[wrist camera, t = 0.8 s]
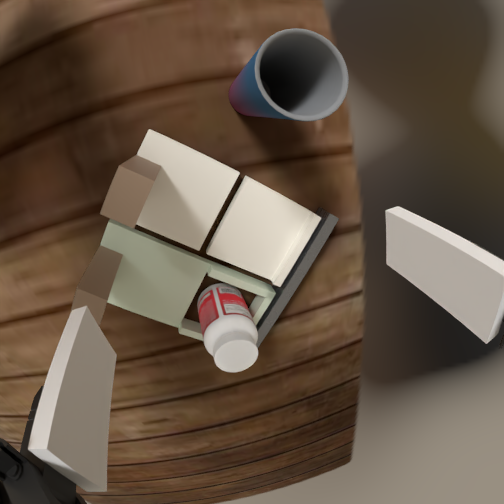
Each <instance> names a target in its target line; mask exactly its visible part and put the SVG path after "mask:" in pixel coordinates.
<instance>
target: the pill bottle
mask: <svg viewBox="0 0 504 504" xmlns="http://www.w3.org/2000/svg"><path fill="white" fill-rule="evenodd" d="M197 307H198V314H199V320H200V325H201V330H202V336H203V341H204V345H205V347H206V349H207V351H208V352H209V353H210V354H211V355H212V356H213V357H214V361H215V363H216V365H217V366H218V368H220V369H221V370H223V371H226V372H239V371H243V370H245V369H247V368H249V367H250V366H251V365H253V364H254V362H255V361H256V359H257V357H258V349H257V346H256V343H257V340H258V331H257V328H256V325H255V323H254V321H253V319H252V316H251V314H250V312H249V310H248V307H247V305H246V303H245V301H244V298H243V296H242V294H241V292H240V291H239V290H238V289H237V288H236V287H234V286H233V285H230V284H226V283H218V284H214V285H211V286H209V287H207V288H206V289H205V290H204V291H203V292H202V293H201V294H200V296H199V298H198V303H197Z"/></svg>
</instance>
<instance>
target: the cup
mask: <svg viewBox="0 0 504 504" xmlns="http://www.w3.org/2000/svg"><path fill="white" fill-rule="evenodd" d="M348 81H349V80H348V71H347V67H346V64H345V61H344V59H343V57H342V55H341V54H340V52H339V51H338V50H337V48H336V47H335V46H334V45H333V44H332V43H331V42H330V41H329V40H327V39H326V38H324V37H323V36H322V35H319V34H317V33H315V32H313V31H309V30H305V29H286V30H283V31H280V32H277V33H275V34H274V35H272V36H270V37H269V38H268V39H267V40H266V41H265V42H264V43H263V44H262V45H261V47H260V48H259V49H258V50H257V52H256V53H255V54H254V55H253V57H252V58H251V59H250V61H249V62H248V63H247V64H246V66H245V67H244V68H243V70H242V71H241V72H240V74H239V75H238V76H237V78H236V79H235V80H234V82H233V83H232V85H231V87H230V90H229V100H230V103H231V105H232V107H233V108H234V109H235V110H236V111H237V112H239V113H241V114H243V115H246V116H256V117H268V118H279V119H289V120H298V121H315V120H320V119H323V118H325V117H327V116H329V115H331V114H332V113H333V112H335V111H336V110H337V109H338V107H339V106H340V105H341V104H342V102H343V100H344V98H345V96H346V93H347V90H348Z"/></svg>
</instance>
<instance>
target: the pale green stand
mask: <svg viewBox="0 0 504 504" xmlns="http://www.w3.org/2000/svg"><path fill="white" fill-rule="evenodd" d="M206 273H208V276H210V277H212V278H215V279H218V280H220V281H223V282H225V283H228V284H231V285H233V286H236V287H239V288H241V289H244V290H247V291H249V292H252V293H255V294H257V295H256V297H255V298H254V300H253V302H252V303H251V305H250V307H249V308H248V310H249V312H250V314H251V316H252V319H253V321H254V323H255V325H257V323H258V322H259V320H260V318H261V317H262V315H263V314H264V312H265V310H266V309H267V307H268V306H269V304H270V303H271V301H272V299H273V298H274V296H275V295H276V293H275V291H274V289H273V288H272V286H271V284H268V283H265V282H263V281H260V280H258V279H255V278H253V277H250V276H248V275H245V274H243V273H240V272H238V271H235V270H233V269H230V268H228V267H225V266H223V265H220V264H218V263H215V262H213V261H210V260H208V259H206V258H203V257H201V256H198V255H196V254H193V253H191V252H188V251H186V250H184V249H181V248H179V247H176V246H174V245H172V244H169V243H167V242H164V241H162V240H160V239H157V238H155V237H152V236H150V235H148V234H145V233H143V232H141V231H138V230H136V229H134V228H131V227H129V226H126V225H124V224H122V223H119V222H117V221H115V220H113V219H110V220H109V222H108V224H107V227H106V230H105V232H104V235H103V238H102V241H101V244H100V246H99V248H98V250H97V251H96V253H95V255H94V257H93V258H92V260H91V262H90V264H89V266H88V267H87V269H86V271H85V273H84V275H83V277H82V279H81V280H80V282H79V284H78V286H77V288H76V292H75V296H74V300H73V305H72V309H71V312H72V310H75V309H78V308H81V307H84V306H87V307H88V309H89V310H90V312H91V314H92V316H93V317H94V319H95V321H96V322H97V324H98V326H99V327H100V323H101V320H102V317H103V313H104V310H105V307H106V304H107V302H108V303H110V304H113V305H115V306H118V307H121V308H123V309H126V310H129V311H131V312H134V313H137V314H140V315H142V316H145V317H148V318H151V319H154V320H157V321H160V322H162V323H165V324H168V325H171V326H174V327H177V328H178V330H179V334H182V335H186V336H189V337H192V338H195V339H199V340H202V341H203V336H202V330H201V325H200V323H198V322H195V321H192V320H189V319H186V318H184V316H185V314H186V312H187V310H188V308H189V306H190V304H191V302H192V300H193V298H194V296H195V294H196V292H197V290H198V288H199V286H200V284H201V282H202V280H203V278H204V276H205V275H206ZM70 314H71V313H70Z"/></svg>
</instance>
